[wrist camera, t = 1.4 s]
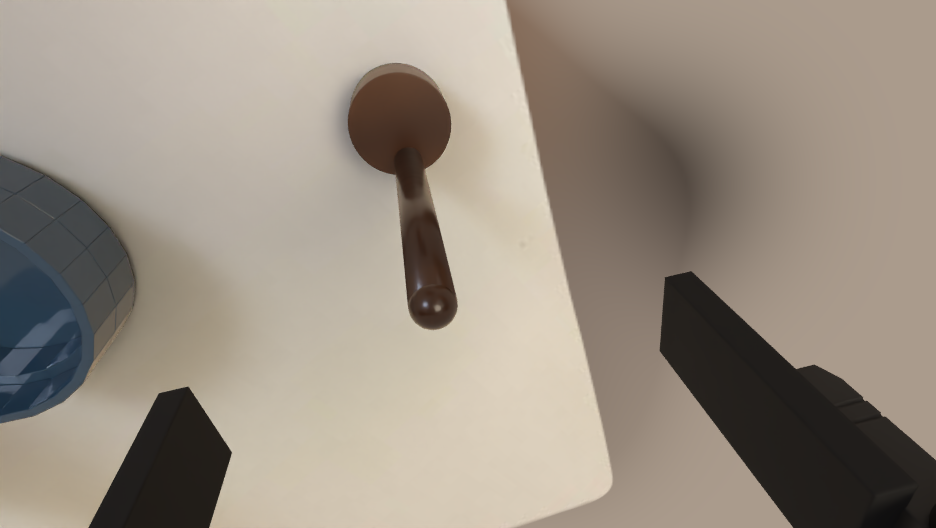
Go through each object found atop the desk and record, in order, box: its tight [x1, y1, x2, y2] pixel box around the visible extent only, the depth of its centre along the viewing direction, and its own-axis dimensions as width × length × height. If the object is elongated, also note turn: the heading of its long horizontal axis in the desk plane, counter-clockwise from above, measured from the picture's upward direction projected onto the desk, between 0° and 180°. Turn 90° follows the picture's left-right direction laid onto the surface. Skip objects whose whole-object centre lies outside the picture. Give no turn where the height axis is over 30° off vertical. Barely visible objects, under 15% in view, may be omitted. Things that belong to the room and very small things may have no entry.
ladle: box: [348, 63, 458, 330], centre depth 21 cm, size 6×6×18 cm
